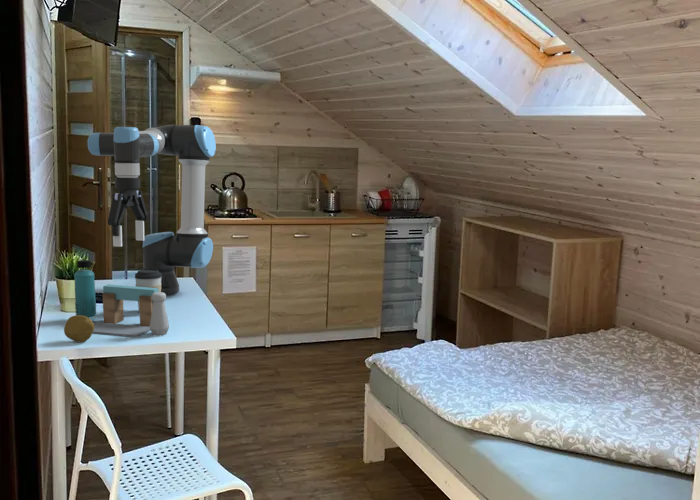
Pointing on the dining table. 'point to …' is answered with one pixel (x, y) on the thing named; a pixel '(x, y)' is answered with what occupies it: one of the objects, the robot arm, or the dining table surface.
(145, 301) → the post
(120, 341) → the dining table surface
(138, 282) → the coffee cup
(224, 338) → the dining table surface
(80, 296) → the beverage bottle
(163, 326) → the salt shaker
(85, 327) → the potato
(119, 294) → the rail
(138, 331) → the mat
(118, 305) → the post
